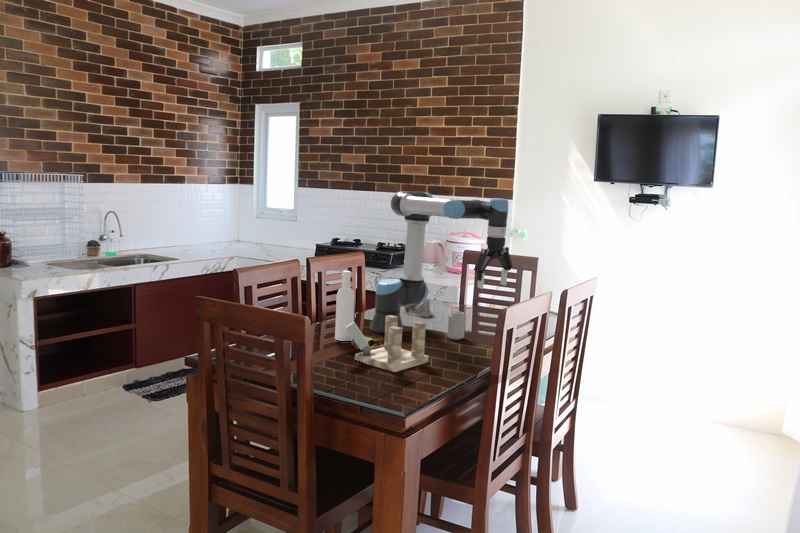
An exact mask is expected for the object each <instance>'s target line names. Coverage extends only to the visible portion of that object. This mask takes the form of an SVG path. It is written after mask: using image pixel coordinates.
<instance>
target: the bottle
mask: <svg viewBox="0 0 800 533" xmlns="http://www.w3.org/2000/svg"><path fill="white" fill-rule="evenodd" d="M351 277H352V272H351V271H350V270H343V271H342V273H341V288H339V289H338V291H337V293H336V299H335V300H336V304H335V305H336V306H335V308H336V309H335V326H334V327H335V331H334V340H335V339H336V340H339V341H351V342H352V339H353V338H352V336H351V335H350V333H349V332H348V330H347V329H346V326H347V325H348V324H350V323H351V322H353V321H354V320H355V304H356V303H355V297H356V295H355V292H354V289H352V288H351V279H352V278H351ZM354 322H355V321H354ZM336 340H335V341H336Z"/></svg>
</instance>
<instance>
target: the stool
mask: <svg viewBox="0 0 800 533" xmlns="http://www.w3.org/2000/svg"><path fill="white" fill-rule="evenodd" d="M426 326H427V323H426V322H424V321H419V320H418V321H414V322H412V333H411V334H412V335H411V351H410V350H407V349H403V347H402V343H403V331H402V328H401V327H398V317H397V316H393V315H390V316H386V319H385V333H384V340H383V342H384V344H383V345H384V347H382V348H378V349H374V350H371V352H370V353H369V354H367V355H366V354H364V353H363V351H362V352H358V353H355V355H354V361H355V360H357V361H356V362H359V361H360V363H362V362H363V363H362V364H365V363H366V364H365V365H368V366H369V365H370V366H373V367H376V368H380V369H383V370H386V371H389V372H393V373H396V372H397V373H398V372H400V371H403V370H407V369H409V368H413V367H417V366H420V365H423V364H427V363H429V355H428V354H427V355H426V354H425V346H426V345H425V344H426V328H427V327H426Z"/></svg>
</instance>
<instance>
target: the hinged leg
mask: <svg viewBox="0 0 800 533" xmlns="http://www.w3.org/2000/svg"><path fill="white" fill-rule="evenodd" d="M346 329H347V330H348V332H349V333H350V335H351V336H352V338H353V339H354V341H355V342H356V344H357V345H358V347H359V348H360V350H359V351H362V350H361V349H363V351H362V352H363V353H364V354H366V355H367V354H369V353H370V352H371V349H370V346H369V345H368V342H367V340H366V339H365V337H364V336H365V335H364V334H363V333H362V331H361V329H360V328H359V326H358V325H357V323H356V321H353V322H351V323H350V324H348V325H347V326H346Z"/></svg>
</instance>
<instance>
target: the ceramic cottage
mask: <svg viewBox="0 0 800 533" xmlns="http://www.w3.org/2000/svg"><path fill="white" fill-rule="evenodd" d="M430 304H431V302H430V298H428V297H427V298H426V300H425V301H424V302H423V303H421V304H418V305H414V306H412V305H411V306H402V307H401V309H400V313H402V314H405V315H408V316H413V317H416V318H417V317H419V318H428V317H430V316H432V311H431V310H430Z"/></svg>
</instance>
